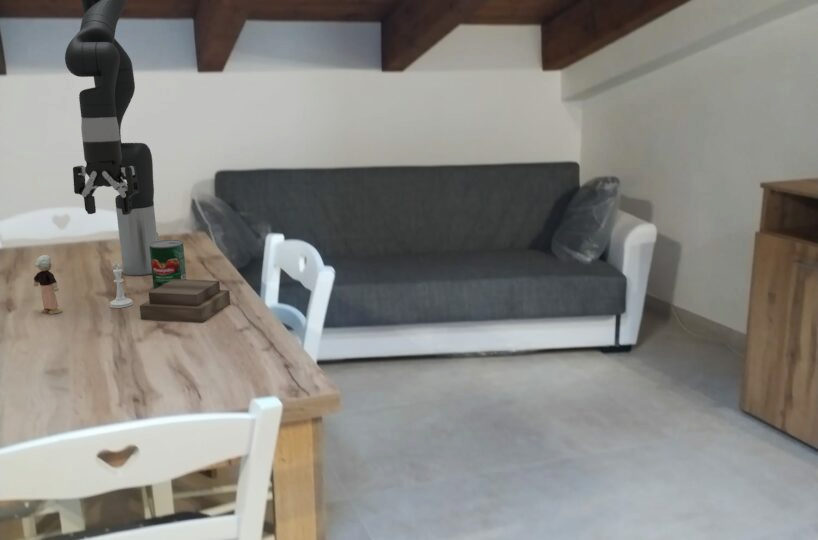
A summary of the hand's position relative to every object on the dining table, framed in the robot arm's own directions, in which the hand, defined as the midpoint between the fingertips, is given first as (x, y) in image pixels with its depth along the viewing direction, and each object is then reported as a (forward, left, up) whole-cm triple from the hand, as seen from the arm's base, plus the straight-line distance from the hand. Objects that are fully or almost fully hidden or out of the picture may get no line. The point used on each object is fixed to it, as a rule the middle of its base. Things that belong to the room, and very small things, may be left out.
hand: (109, 213), depth 174 cm
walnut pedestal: (+2, +18, -21) cm, 27 cm away
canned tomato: (-15, +5, -21) cm, 26 cm away
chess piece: (0, +1, -21) cm, 21 cm away
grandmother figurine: (+7, -12, -21) cm, 25 cm away
